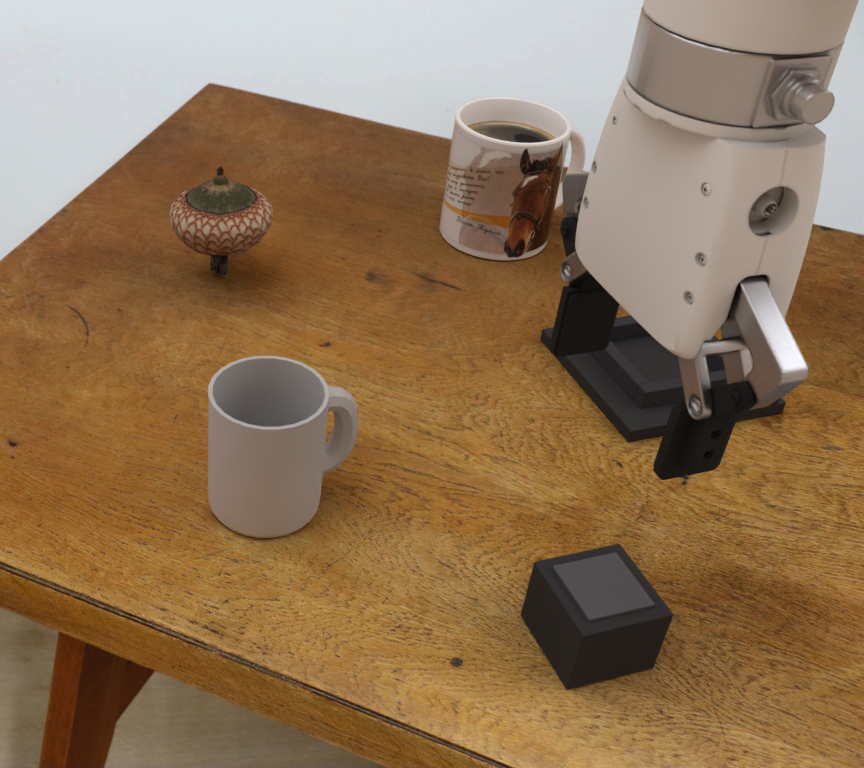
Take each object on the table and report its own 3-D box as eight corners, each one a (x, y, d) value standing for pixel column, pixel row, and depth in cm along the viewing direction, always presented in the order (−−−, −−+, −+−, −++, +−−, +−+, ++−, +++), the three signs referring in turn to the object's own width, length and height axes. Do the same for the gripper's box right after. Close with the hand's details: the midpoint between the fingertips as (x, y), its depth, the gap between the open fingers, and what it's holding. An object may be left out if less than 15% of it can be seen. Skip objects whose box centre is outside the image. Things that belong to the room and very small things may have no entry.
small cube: (653, 668, 62) (675, 611, 59) (566, 690, 60) (584, 633, 57) (602, 596, 66) (620, 540, 63) (519, 615, 64) (534, 558, 62)
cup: (190, 480, 72) (189, 371, 67) (326, 443, 76) (336, 336, 71) (234, 554, 67) (237, 442, 62) (378, 510, 71) (392, 400, 66)
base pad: (782, 413, 81) (793, 385, 80) (627, 442, 78) (636, 414, 76) (681, 317, 91) (689, 291, 89) (539, 339, 87) (545, 312, 86)
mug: (444, 198, 106) (460, 87, 99) (571, 215, 104) (596, 103, 97) (434, 252, 97) (451, 135, 91) (572, 272, 96) (600, 154, 89)
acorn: (289, 284, 92) (295, 175, 86) (204, 313, 88) (204, 201, 82) (234, 241, 97) (236, 135, 91) (152, 267, 93) (148, 158, 87)
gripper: (969, 153, 38) (806, 512, 49) (684, -9, 51) (603, 302, 62) (789, 174, 36) (659, 544, 47) (539, 0, 49) (481, 320, 60)
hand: (627, 406), depth 54 cm, fingers open, 9 cm apart
